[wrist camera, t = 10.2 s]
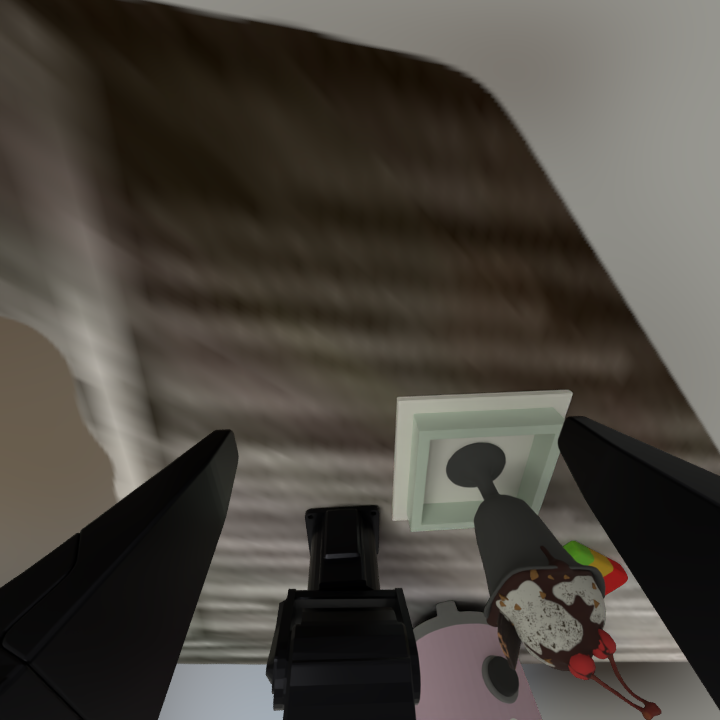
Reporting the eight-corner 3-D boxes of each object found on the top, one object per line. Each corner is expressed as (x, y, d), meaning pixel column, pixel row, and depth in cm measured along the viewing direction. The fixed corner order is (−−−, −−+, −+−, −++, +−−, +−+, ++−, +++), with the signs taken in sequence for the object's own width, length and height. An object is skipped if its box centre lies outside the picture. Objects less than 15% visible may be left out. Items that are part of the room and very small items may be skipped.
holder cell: (530, 507, 30) (545, 532, 28) (391, 516, 30) (395, 542, 27) (568, 389, 24) (591, 409, 22) (396, 396, 24) (402, 417, 22)
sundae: (527, 434, 25) (734, 698, 12) (501, 494, 28) (644, 758, 15) (446, 430, 25) (570, 704, 11) (428, 492, 28) (510, 766, 14)
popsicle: (582, 587, 38) (593, 605, 36) (492, 546, 34) (500, 564, 32) (621, 561, 36) (635, 579, 34) (532, 515, 32) (542, 532, 30)
